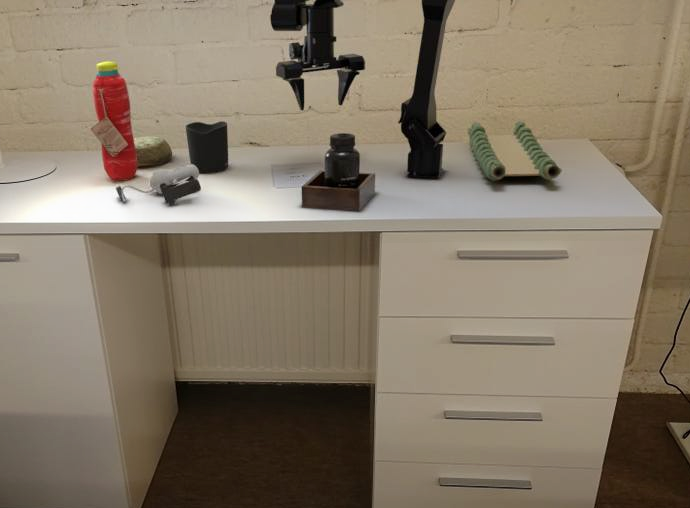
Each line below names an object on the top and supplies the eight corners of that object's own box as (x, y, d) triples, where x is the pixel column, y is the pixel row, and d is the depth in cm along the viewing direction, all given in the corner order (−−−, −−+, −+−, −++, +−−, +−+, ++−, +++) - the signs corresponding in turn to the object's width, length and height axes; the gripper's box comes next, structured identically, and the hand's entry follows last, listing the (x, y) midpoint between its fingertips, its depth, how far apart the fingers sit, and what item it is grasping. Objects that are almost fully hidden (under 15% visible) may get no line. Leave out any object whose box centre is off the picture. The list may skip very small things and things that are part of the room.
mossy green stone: (105, 165, 188) (102, 144, 186) (142, 152, 198) (139, 132, 195) (148, 171, 181) (145, 150, 179) (183, 157, 191) (181, 136, 188)
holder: (374, 193, 157) (375, 173, 155) (359, 211, 148) (359, 190, 146) (320, 189, 162) (320, 170, 160) (301, 207, 152) (301, 186, 150)
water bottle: (125, 187, 171) (108, 67, 159) (92, 186, 173) (73, 68, 161) (146, 172, 181) (132, 58, 169) (115, 171, 183) (99, 59, 171)
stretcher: (561, 190, 152) (565, 165, 150) (486, 191, 154) (488, 167, 152) (526, 139, 187) (529, 118, 185) (465, 141, 189) (467, 120, 187)
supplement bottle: (347, 203, 150) (347, 141, 145) (318, 198, 154) (317, 137, 148) (365, 194, 155) (366, 133, 149) (336, 189, 159) (336, 130, 153)
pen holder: (206, 177, 175) (202, 131, 170) (181, 169, 181) (177, 126, 176) (238, 167, 180) (235, 123, 175) (213, 161, 186) (209, 118, 181)
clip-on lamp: (120, 223, 159) (203, 198, 157) (108, 195, 155) (194, 169, 154) (123, 200, 169) (202, 176, 167) (113, 173, 165) (193, 149, 163)
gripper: (343, 24, 172) (343, 96, 180) (265, 32, 167) (268, 106, 175) (366, 28, 163) (365, 104, 171) (284, 36, 158) (287, 115, 166)
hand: (321, 107), depth 171 cm, fingers open, 9 cm apart
